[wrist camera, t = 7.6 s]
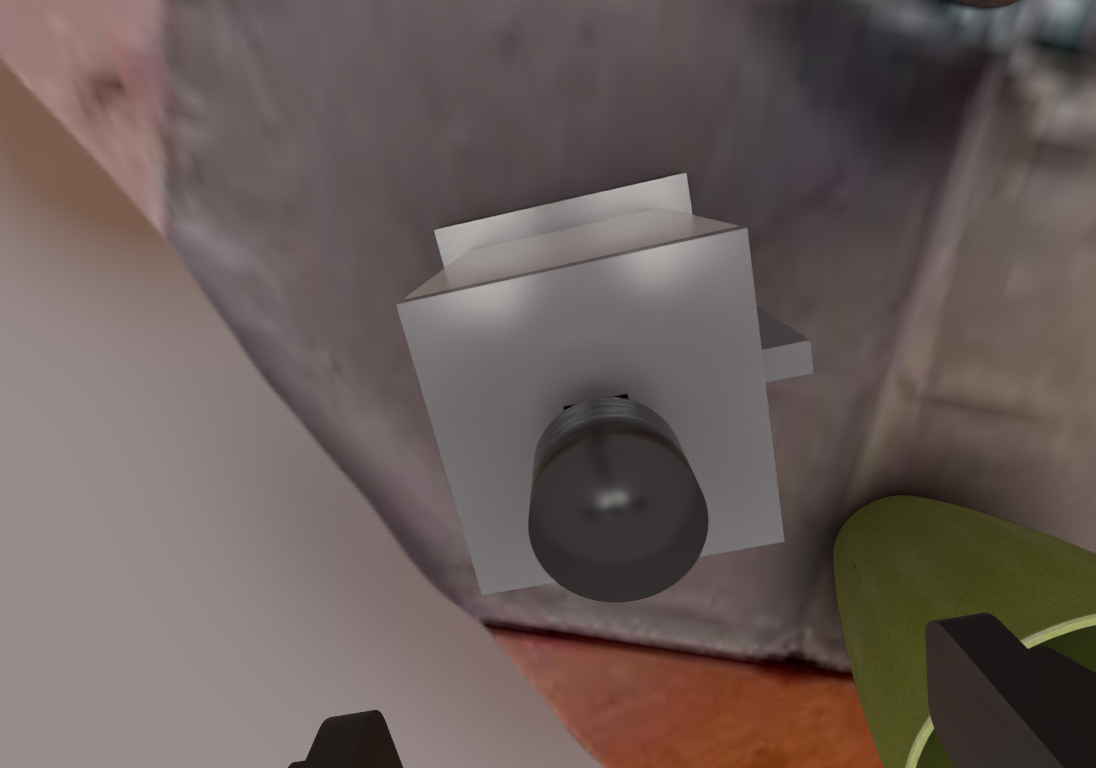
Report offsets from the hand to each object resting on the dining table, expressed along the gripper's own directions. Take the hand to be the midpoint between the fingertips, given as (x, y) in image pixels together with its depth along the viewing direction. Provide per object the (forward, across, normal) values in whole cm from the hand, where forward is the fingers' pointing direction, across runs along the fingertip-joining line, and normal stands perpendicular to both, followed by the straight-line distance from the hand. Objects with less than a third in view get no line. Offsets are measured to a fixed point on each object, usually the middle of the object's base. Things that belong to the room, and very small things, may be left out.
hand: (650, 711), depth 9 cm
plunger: (+24, 0, 0) cm, 24 cm away
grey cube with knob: (+27, 0, 0) cm, 27 cm away
